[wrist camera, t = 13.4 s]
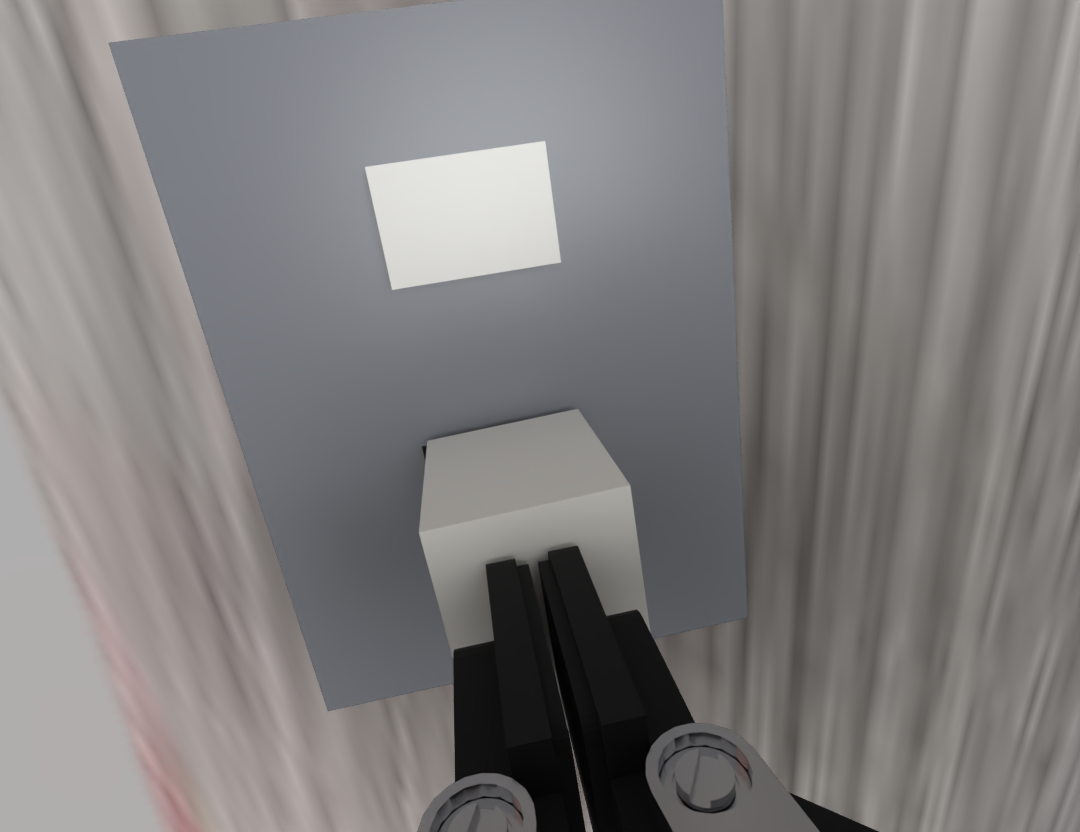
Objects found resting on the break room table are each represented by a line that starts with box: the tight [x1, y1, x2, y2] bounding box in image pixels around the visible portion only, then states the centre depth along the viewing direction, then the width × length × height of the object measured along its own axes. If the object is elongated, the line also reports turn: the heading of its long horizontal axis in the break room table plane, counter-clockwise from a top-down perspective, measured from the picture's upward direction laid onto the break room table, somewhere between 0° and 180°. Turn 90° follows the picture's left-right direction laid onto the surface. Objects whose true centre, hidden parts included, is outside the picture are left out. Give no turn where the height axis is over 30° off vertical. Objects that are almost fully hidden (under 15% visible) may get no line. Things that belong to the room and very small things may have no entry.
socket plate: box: [109, 0, 748, 711], centre depth 15 cm, size 16×12×3 cm
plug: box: [419, 409, 651, 727], centre depth 14 cm, size 5×4×7 cm
